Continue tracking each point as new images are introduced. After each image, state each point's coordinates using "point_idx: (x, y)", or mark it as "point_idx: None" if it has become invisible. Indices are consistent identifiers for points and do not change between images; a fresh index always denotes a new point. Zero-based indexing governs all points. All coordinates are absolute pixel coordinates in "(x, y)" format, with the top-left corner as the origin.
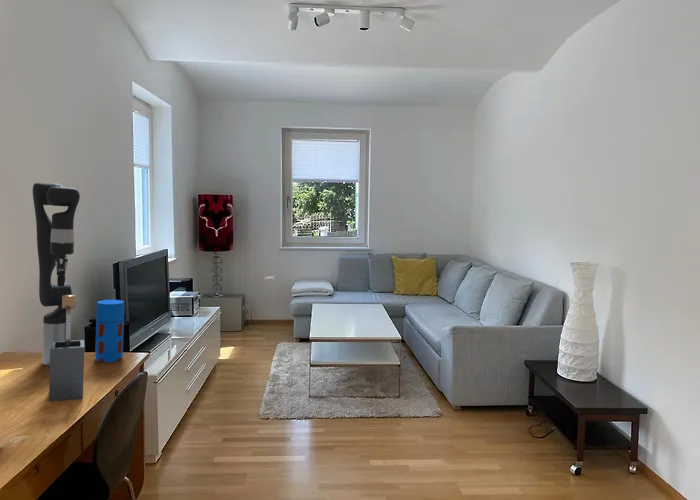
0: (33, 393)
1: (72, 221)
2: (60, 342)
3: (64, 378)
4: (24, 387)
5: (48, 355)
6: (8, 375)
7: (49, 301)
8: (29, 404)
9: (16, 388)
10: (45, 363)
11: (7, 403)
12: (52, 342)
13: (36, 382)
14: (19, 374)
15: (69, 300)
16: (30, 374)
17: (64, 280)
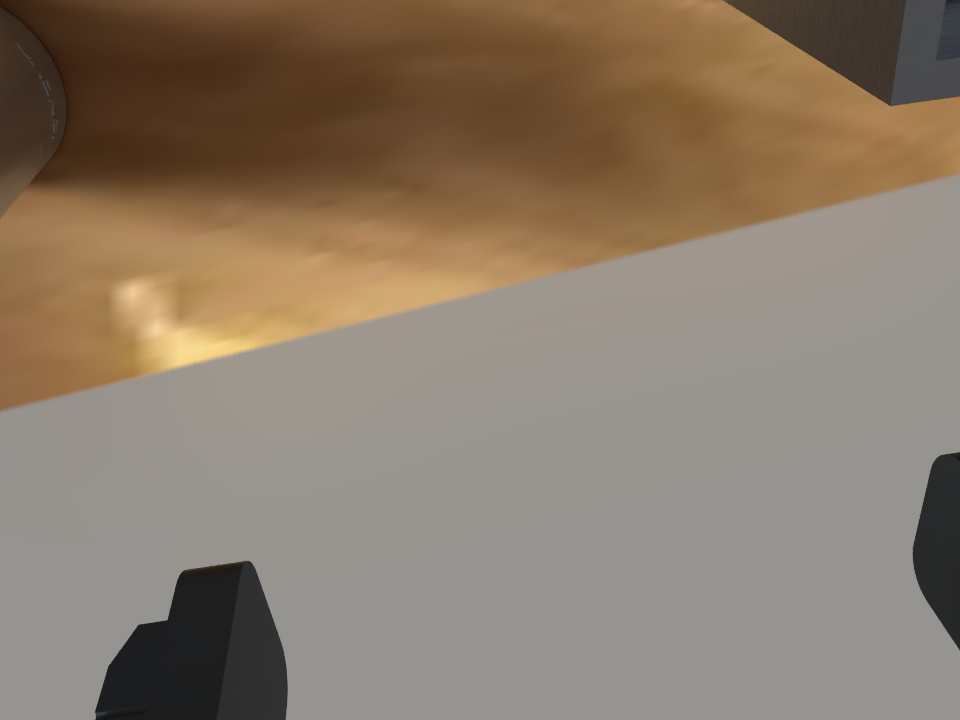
0: (703, 95)
1: None
2: (939, 8)
3: None
4: (565, 175)
5: (39, 160)
6: (295, 323)
7: None
8: None
9: (572, 216)
10: (51, 156)
11: (828, 197)
12: (933, 91)
13: (475, 125)
14: (279, 268)
15: None
16: (284, 203)
17: (242, 615)
